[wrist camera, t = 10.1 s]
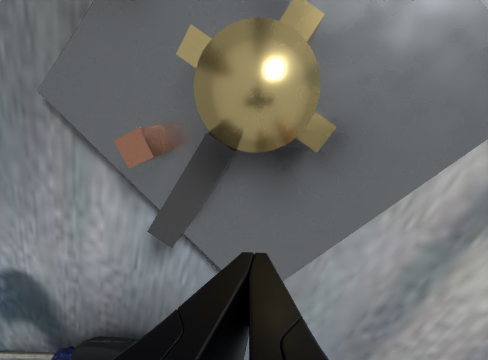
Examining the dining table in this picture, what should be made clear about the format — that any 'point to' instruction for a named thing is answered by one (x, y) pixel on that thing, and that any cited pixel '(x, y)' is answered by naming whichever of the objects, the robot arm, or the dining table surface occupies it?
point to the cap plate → (295, 152)
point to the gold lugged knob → (246, 102)
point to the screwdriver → (79, 350)
